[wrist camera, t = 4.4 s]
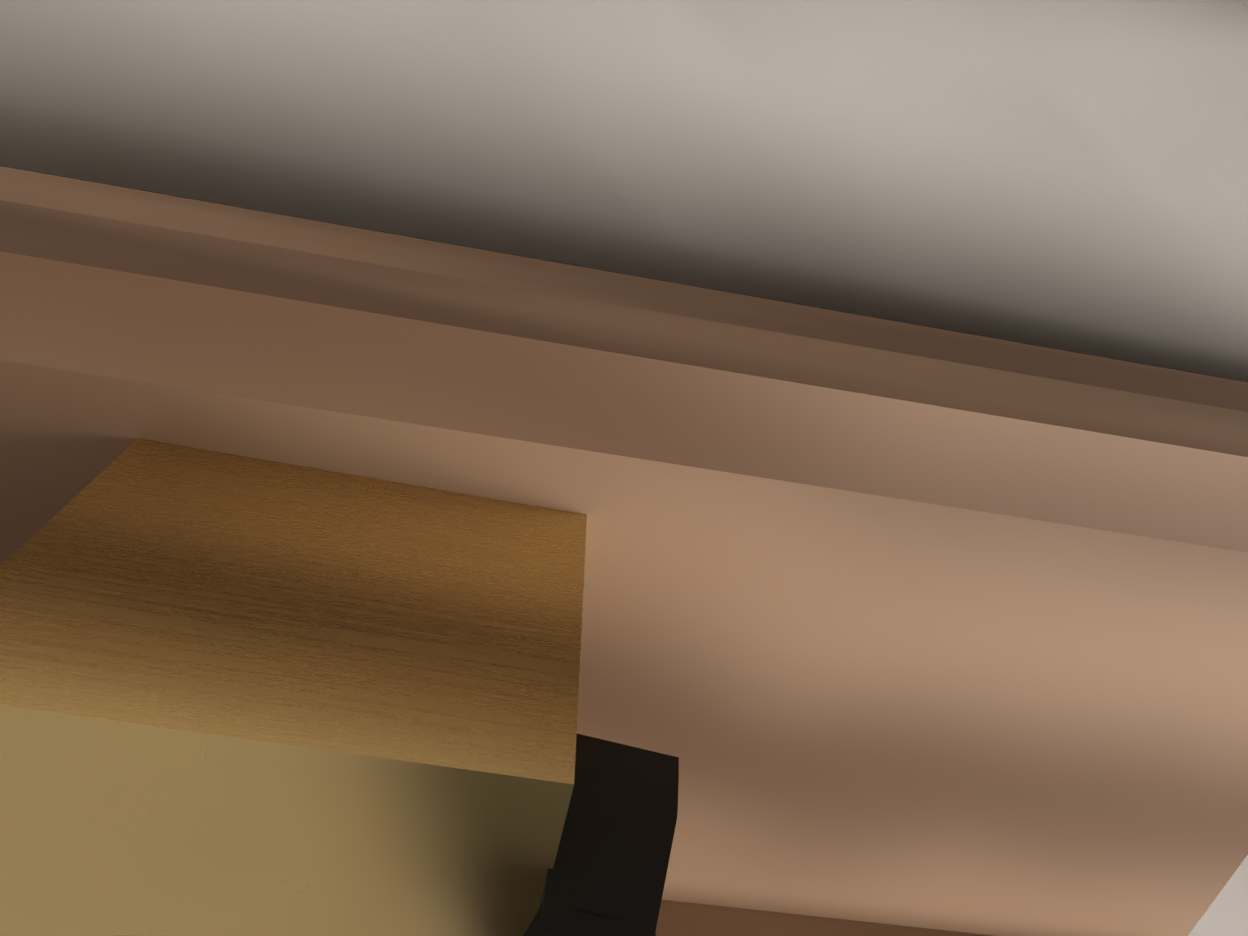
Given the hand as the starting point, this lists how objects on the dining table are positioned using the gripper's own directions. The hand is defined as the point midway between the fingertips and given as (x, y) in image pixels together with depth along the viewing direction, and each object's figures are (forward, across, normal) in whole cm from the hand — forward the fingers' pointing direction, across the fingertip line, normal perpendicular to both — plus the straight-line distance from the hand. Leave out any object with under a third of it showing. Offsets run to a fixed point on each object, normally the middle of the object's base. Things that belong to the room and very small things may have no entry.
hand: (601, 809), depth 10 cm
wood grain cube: (+2, +3, 0) cm, 4 cm away
